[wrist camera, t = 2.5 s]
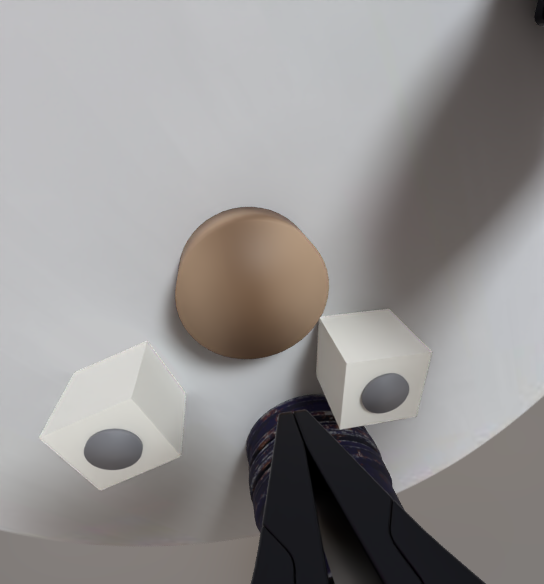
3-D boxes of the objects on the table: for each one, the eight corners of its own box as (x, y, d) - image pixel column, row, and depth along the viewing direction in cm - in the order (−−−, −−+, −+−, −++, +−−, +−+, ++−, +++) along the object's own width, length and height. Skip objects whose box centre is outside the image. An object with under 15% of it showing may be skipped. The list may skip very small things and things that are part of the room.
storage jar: (232, 412, 24) (263, 750, 11) (359, 379, 25) (528, 658, 12) (257, 491, 29) (300, 796, 16) (363, 461, 30) (489, 727, 17)
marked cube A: (388, 308, 23) (435, 354, 18) (379, 365, 25) (418, 419, 20) (318, 316, 22) (348, 366, 17) (315, 374, 24) (341, 433, 20)
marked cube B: (147, 339, 20) (130, 401, 16) (186, 393, 23) (180, 460, 18) (74, 371, 21) (36, 442, 16) (120, 421, 23) (98, 495, 18)
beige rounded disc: (313, 200, 18) (331, 213, 16) (312, 320, 22) (326, 347, 20) (166, 214, 17) (159, 230, 15) (191, 338, 21) (189, 369, 18)
